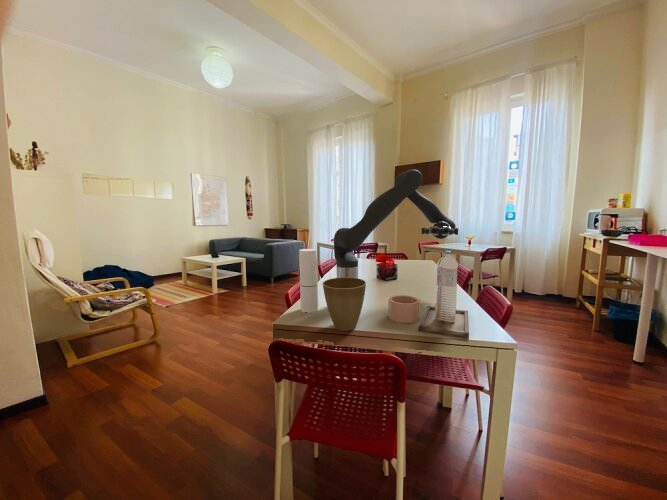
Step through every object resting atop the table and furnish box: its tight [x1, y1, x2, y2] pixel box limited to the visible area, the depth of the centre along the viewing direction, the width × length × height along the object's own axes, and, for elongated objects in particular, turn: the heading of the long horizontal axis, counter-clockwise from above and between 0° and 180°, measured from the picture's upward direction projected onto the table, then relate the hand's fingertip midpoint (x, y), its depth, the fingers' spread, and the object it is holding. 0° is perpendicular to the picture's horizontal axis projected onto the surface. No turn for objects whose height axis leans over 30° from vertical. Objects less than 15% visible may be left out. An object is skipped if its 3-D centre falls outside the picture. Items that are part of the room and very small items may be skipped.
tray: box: [418, 305, 470, 340], centre depth 98 cm, size 15×22×2 cm
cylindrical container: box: [298, 248, 319, 314], centre depth 111 cm, size 7×7×25 cm
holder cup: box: [387, 294, 421, 324], centre depth 103 cm, size 11×11×7 cm
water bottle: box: [434, 250, 459, 323], centre depth 97 cm, size 7×7×25 cm
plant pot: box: [322, 277, 367, 332], centre depth 94 cm, size 15×15×16 cm
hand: (438, 231), depth 108 cm, fingers open, 8 cm apart
